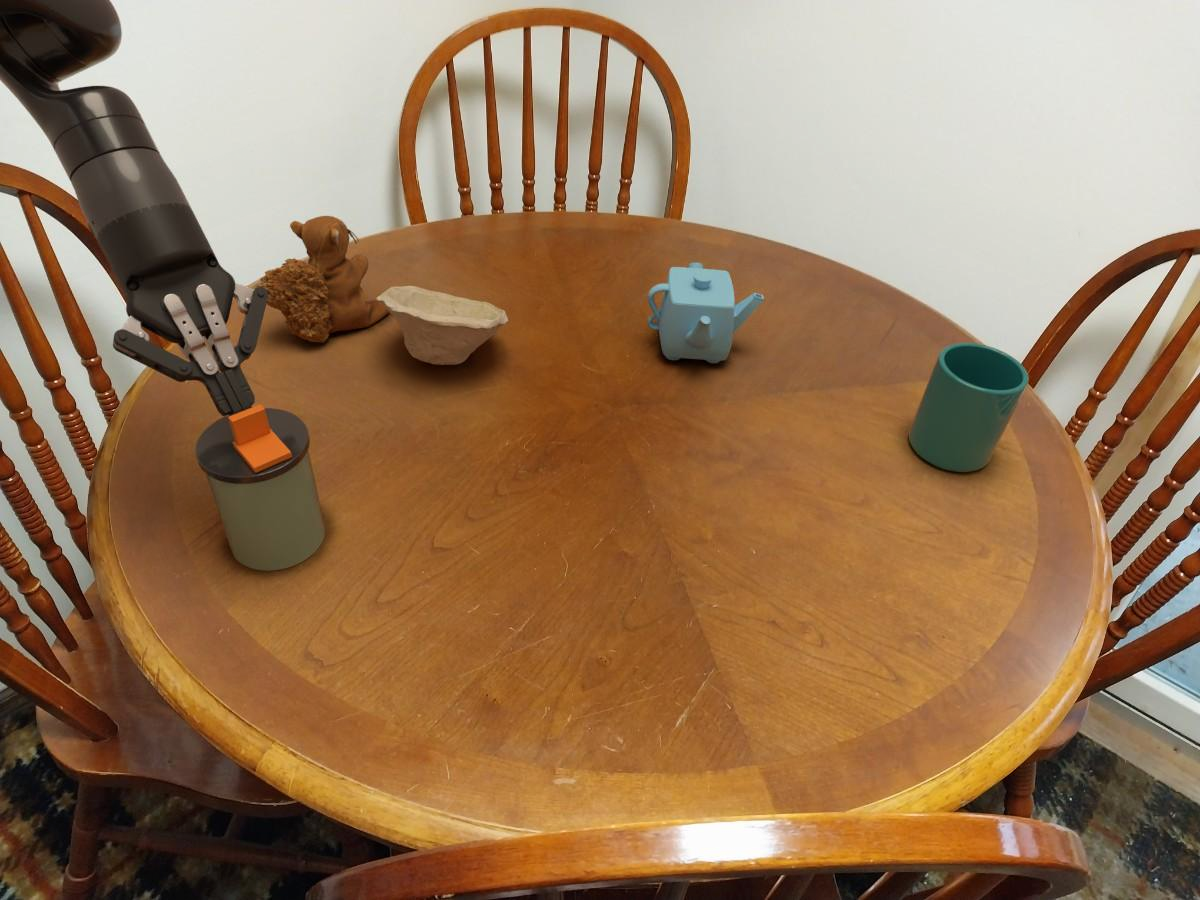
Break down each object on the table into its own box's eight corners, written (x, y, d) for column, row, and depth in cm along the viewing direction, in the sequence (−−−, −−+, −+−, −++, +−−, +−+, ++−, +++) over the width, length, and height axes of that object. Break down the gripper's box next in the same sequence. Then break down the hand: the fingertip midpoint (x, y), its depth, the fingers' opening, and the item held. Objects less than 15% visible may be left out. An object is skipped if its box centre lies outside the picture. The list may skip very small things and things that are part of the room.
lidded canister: (210, 530, 79) (176, 433, 71) (300, 489, 84) (278, 394, 76) (253, 589, 74) (222, 492, 66) (346, 542, 79) (327, 446, 71)
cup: (973, 411, 101) (1009, 332, 93) (998, 479, 92) (1040, 397, 84) (896, 403, 101) (926, 323, 94) (914, 469, 92) (948, 387, 85)
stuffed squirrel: (396, 310, 109) (386, 214, 101) (322, 364, 99) (303, 264, 91) (335, 288, 112) (319, 194, 104) (257, 338, 102) (233, 239, 94)
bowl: (529, 344, 105) (530, 272, 99) (470, 405, 96) (466, 330, 89) (427, 311, 110) (421, 240, 103) (360, 365, 100) (349, 291, 93)
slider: (233, 447, 70) (225, 417, 68) (270, 432, 72) (263, 402, 70) (255, 473, 68) (247, 443, 66) (292, 457, 70) (285, 427, 68)
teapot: (642, 305, 114) (649, 236, 107) (745, 313, 114) (759, 245, 108) (642, 385, 100) (651, 312, 94) (760, 394, 101) (777, 321, 94)
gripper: (53, 225, 62) (165, 439, 63) (230, 182, 69) (327, 376, 70) (55, 261, 68) (157, 455, 70) (217, 219, 75) (306, 396, 77)
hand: (242, 415), depth 70 cm, fingers closed
